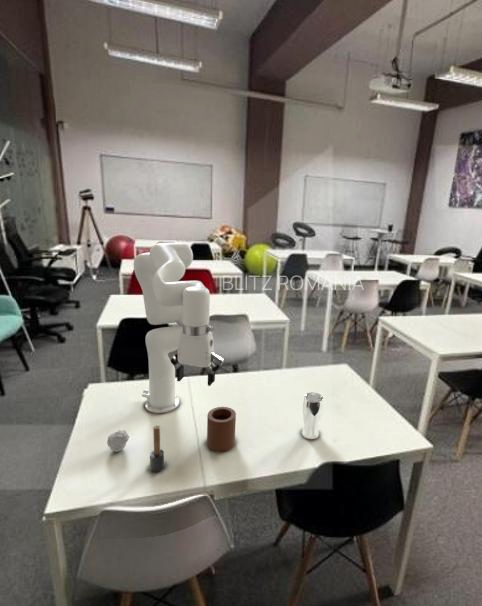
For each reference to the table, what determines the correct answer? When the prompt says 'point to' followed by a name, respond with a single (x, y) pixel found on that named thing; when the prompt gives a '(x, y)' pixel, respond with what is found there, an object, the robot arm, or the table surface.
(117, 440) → the grey crumpled ball
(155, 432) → the brush
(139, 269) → the robot arm
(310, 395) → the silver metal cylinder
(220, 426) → the cylindrical holder
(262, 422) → the table surface
